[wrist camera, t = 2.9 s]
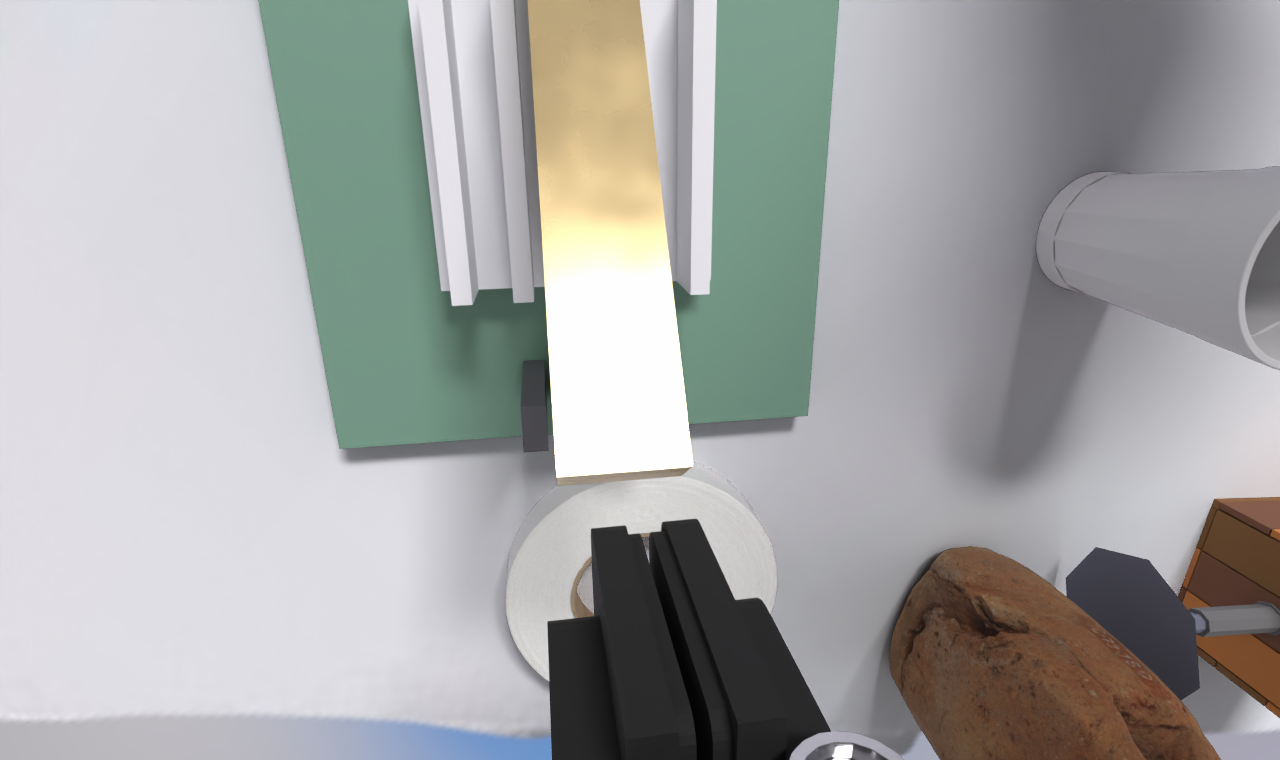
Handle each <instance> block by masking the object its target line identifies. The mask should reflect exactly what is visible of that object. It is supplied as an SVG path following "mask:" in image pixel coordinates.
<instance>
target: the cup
mask: <svg viewBox="0 0 1280 760" xmlns="http://www.w3.org/2000/svg"><path fill="white" fill-rule="evenodd" d="M1036 252H1037V258H1038V262H1039V265H1040V267H1041V269H1042V271H1043V273H1044V274H1045V275H1046V277H1047V278H1048V279H1049V280H1050V281H1052V282H1053V283H1054V284H1056V285H1058V286H1060V287H1062V288H1066V289H1069V290H1073V291H1077V292H1080V293H1084V294H1087V295H1090V296H1092V297H1095V298H1098V299H1100V300H1103V301H1105V302H1108V303H1111V304H1113V305H1116V306H1118V307H1121V308H1124V309H1126V310H1129V311H1132V312H1134V313H1137V314H1139V315H1142V316H1145V317H1147V318H1150V319H1152V320H1155V321H1158V322H1160V323H1163V324H1165V325H1168V326H1171V327H1173V328H1176V329H1178V330H1181V331H1184V332H1186V333H1189V334H1191V335H1194V336H1196V337H1198V338H1200V339H1202V340H1205V341H1207V342H1210V343H1212V344H1214V345H1217V346H1219V347H1222V348H1224V349H1227V350H1229V351H1232V352H1234V353H1237V354H1239V355H1242V356H1244V357H1247V358H1249V359H1252V360H1254V361H1257V362H1259V363H1261V364H1264V365H1266V366H1269V367H1271V368H1274V369H1277V370H1280V166H1272V167H1266V168H1262V169H1247V170H1221V171H1195V172H1168V173H1142V174H1132V173H1121V172H1095V173H1091V174H1087V175H1085V176H1082V177H1080V178H1078V179H1076V180H1075V181H1073V182H1071V183H1070V184H1069V185H1067V186H1066V187H1065V188H1064V189H1063V190H1061V191H1060V192H1059V193H1058V195H1057V196H1056V197H1055V198H1054V199H1053V200H1052V202H1051V203H1050V205H1049V206H1048V208H1047V210H1046V211H1045V213H1044V215H1043V217H1042V220H1041V222H1040V225H1039V229H1038V233H1037V240H1036Z"/></svg>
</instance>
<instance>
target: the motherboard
mask: <svg viewBox="0 0 1280 760" xmlns="http://www.w3.org/2000/svg"><path fill="white" fill-rule="evenodd" d="M258 1H259V7H260V12H261V18H262V23H263V29H264V34H265V40H266V45H267V51H268V56H269V62H270V68H271V73H272V79H273V84H274V90H275V95H276V101H277V106H278V112H279V117H280V123H281V128H282V134H283V139H284V145H285V150H286V156H287V162H288V167H289V173H290V178H291V184H292V189H293V195H294V200H295V206H296V211H297V217H298V222H299V228H300V233H301V239H302V245H303V250H304V256H305V261H306V267H307V272H308V278H309V283H310V289H311V294H312V300H313V305H314V311H315V316H316V322H317V327H318V333H319V339H320V344H321V350H322V355H323V361H324V366H325V372H326V377H327V383H328V388H329V394H330V399H331V405H332V410H333V416H334V421H335V427H336V433H337V438H338V444H339V449H346V448H360V447H374V446H388V445H402V444H417V443H431V442H445V441H459V440H473V439H487V438H501V437H515V436H523V447H524V452H535V451H548V434H554V428H553V411H552V395H551V378H550V362H549V345H548V329H547V312H546V296H545V279H544V263H543V247H542V230H541V214H540V197H539V181H538V164H537V148H536V131H535V115H534V99H533V82H532V66H531V49H530V33H529V16H528V0H258ZM640 7H641V16H642V25H643V34H644V42H645V51H646V60H647V69H648V77H649V86H650V95H651V103H652V112H653V121H654V130H655V138H656V147H657V156H658V165H659V173H660V182H661V191H662V199H663V208H664V217H665V226H666V234H667V243H668V252H669V261H670V269H671V278H672V287H673V295H674V304H675V313H676V322H677V330H678V339H679V348H680V357H681V365H682V374H683V383H684V391H685V400H686V409H687V418H688V424H699V423H713V422H727V421H742V420H756V419H770V418H784V417H798V416H808V406H809V393H810V380H811V367H812V353H813V340H814V327H815V314H816V300H817V287H818V274H819V261H820V247H821V234H822V221H823V207H824V194H825V181H826V168H827V154H828V141H829V128H830V115H831V101H832V88H833V75H834V62H835V48H836V35H837V22H838V9H839V0H640Z"/></svg>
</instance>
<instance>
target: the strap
mask: <svg viewBox="0 0 1280 760" xmlns="http://www.w3.org/2000/svg"><path fill="white" fill-rule="evenodd" d="M528 16H529V33H530V49H531V66H532V82H533V99H534V115H535V131H536V148H537V164H538V181H539V197H540V214H541V230H542V247H543V263H544V279H545V296H546V312H547V329H548V345H549V362H550V378H551V395H552V411H553V428H554V444H555V460H556V477H557V486H566V485H578V484H590V483H603V482H615V481H628V480H640V479H652V478H665V477H677V476H682V475H683V474H684V473H686V472H687V471H688V470H689V469H691V468H692V467H693V461H692V453H691V444H690V435H689V426H688V418H687V409H686V400H685V391H684V383H683V374H682V365H681V357H680V348H679V339H678V330H677V322H676V313H675V304H674V295H673V287H672V278H671V269H670V261H669V252H668V243H667V234H666V226H665V217H664V208H663V199H662V191H661V182H660V173H659V165H658V156H657V147H656V138H655V130H654V121H653V112H652V103H651V95H650V86H649V77H648V69H647V60H646V51H645V42H644V34H643V25H642V16H641V7H640V0H528Z"/></svg>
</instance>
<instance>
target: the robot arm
mask: <svg viewBox="0 0 1280 760" xmlns="http://www.w3.org/2000/svg"><path fill="white" fill-rule="evenodd" d="M591 554H592V576H593V598H594V616H590V617H581V618H573V619H564V620H555V621H548V622H547V627H548V657H549V685H550V713H551V741H552V760H903V759H902V757H901V756H899V755H898V754H897V753H896V752H895V751H893V750H892V749H890V748H889V747H887V746H885V745H884V744H882V743H881V742H879V741H877V740H874V739H872V738H869V737H866V736H863V735H861V734H858V733H851V732H843V731H832V732H831V730H830V728H829V726H828V724H827V722H826V720H825V719H824V717H823V715H822V713H821V711H820V709H819V707H818V705H817V703H816V701H815V699H814V697H813V695H812V694H811V692H810V690H809V688H808V686H807V684H806V682H805V680H804V678H803V676H802V674H801V672H800V671H799V669H798V667H797V665H796V663H795V661H794V659H793V657H792V655H791V653H790V651H789V649H788V647H787V646H786V644H785V642H784V640H783V638H782V636H781V634H780V632H779V630H778V628H777V626H776V624H775V623H774V621H773V619H772V617H771V615H770V613H769V611H768V609H767V607H766V606H765V604H764V603H763V601H762V600H761V599H759V598H758V597H757V598H748V599H740V600H735V598H734V596H733V594H732V592H731V590H730V587H729V585H728V583H727V581H726V579H725V576H724V574H723V572H722V570H721V568H720V566H719V563H718V561H717V559H716V557H715V555H714V552H713V550H712V548H711V546H710V544H709V542H708V539H707V537H706V535H705V533H704V531H703V529H702V526H701V524H700V522H699V520H698V519H686V520H675V521H665V522H662V525H661V531H658V532H650V536H649V559H650V565H649V561H648V558H647V554H646V551H645V548H644V544H643V541H642V537H641V534H640V533H637V534H628V531H627V528H626V526H625V525H623V526H612V527H602V528H591Z"/></svg>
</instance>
